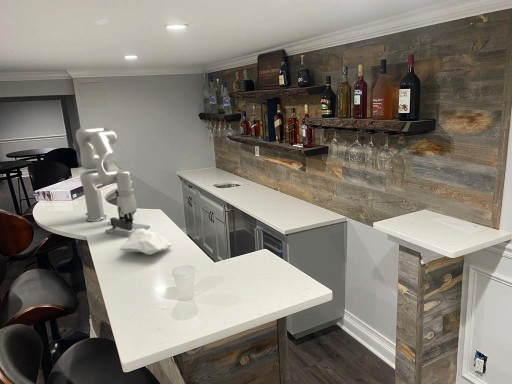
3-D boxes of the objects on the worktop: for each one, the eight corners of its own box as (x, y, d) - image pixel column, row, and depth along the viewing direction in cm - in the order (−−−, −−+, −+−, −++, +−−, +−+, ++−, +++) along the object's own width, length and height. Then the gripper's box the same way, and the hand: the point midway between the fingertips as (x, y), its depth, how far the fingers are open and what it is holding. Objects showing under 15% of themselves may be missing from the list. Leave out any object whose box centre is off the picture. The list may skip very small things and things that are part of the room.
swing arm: (109, 225, 224) (108, 218, 223) (114, 223, 226) (113, 217, 226) (128, 230, 212) (127, 223, 212) (133, 229, 215) (132, 222, 214)
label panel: (105, 232, 222) (104, 227, 221) (126, 224, 235) (126, 219, 235) (128, 237, 213) (128, 231, 212) (149, 228, 226) (149, 222, 225)
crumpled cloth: (126, 266, 171) (126, 246, 169) (113, 242, 201) (114, 225, 200) (177, 261, 182) (178, 242, 181) (159, 239, 212) (159, 223, 211)
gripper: (131, 189, 223) (135, 220, 228) (109, 195, 211) (114, 227, 215) (140, 190, 219) (144, 221, 224) (118, 196, 207) (123, 229, 211)
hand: (129, 224), depth 219 cm, fingers closed
